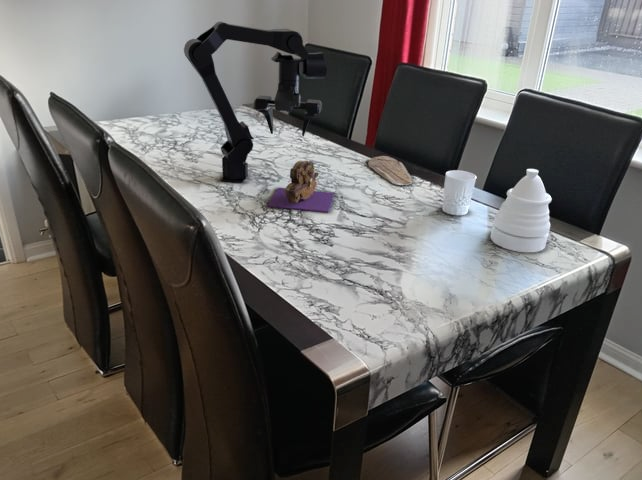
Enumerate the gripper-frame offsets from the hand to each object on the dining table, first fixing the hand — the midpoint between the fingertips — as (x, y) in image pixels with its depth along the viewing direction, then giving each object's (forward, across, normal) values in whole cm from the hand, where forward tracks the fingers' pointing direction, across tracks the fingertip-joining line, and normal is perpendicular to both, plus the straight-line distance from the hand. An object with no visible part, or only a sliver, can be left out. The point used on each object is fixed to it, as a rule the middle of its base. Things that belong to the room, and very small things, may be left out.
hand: (287, 134), depth 168 cm
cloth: (+12, +8, -20) cm, 25 cm away
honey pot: (+12, +63, -33) cm, 72 cm away
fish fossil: (+12, +31, +12) cm, 35 cm away
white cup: (+12, +49, -17) cm, 53 cm away
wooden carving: (+12, +8, -20) cm, 24 cm away
